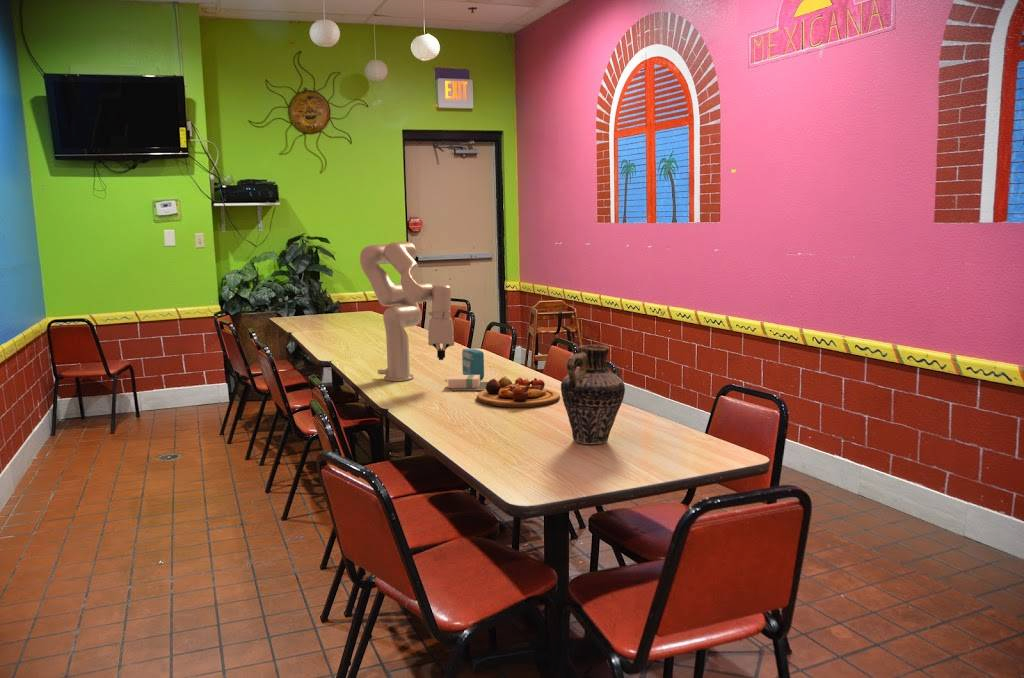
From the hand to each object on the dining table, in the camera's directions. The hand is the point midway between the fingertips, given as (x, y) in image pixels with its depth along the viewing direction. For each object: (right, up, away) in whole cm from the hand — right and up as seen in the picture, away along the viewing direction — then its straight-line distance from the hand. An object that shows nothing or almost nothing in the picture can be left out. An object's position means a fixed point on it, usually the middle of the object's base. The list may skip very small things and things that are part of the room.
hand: (441, 359), depth 332 cm
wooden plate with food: (+31, -15, -21) cm, 41 cm away
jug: (+54, -24, -82) cm, 100 cm away
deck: (+4, -9, +1) cm, 10 cm away
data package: (+12, -8, +21) cm, 26 cm away
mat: (+15, -11, 0) cm, 19 cm away
